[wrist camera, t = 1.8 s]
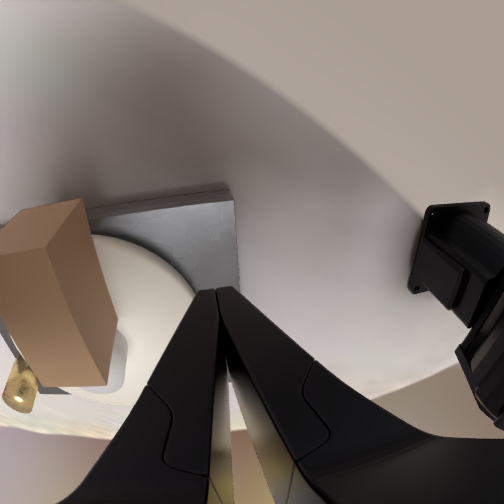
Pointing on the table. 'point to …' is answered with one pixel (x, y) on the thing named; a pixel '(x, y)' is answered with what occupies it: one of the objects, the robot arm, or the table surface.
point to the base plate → (173, 240)
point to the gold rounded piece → (21, 386)
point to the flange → (86, 303)
